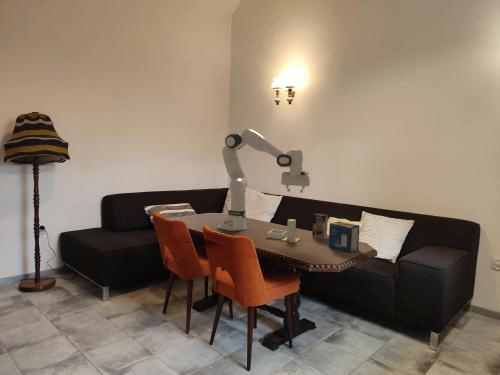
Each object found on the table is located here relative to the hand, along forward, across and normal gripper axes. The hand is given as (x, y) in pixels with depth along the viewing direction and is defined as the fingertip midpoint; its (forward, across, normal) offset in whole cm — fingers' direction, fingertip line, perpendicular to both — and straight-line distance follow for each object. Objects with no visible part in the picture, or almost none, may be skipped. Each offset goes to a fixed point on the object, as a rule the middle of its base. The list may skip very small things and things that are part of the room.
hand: (295, 192), depth 257 cm
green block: (+30, +3, -15) cm, 34 cm away
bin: (+31, -9, -10) cm, 34 cm away
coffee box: (+31, +18, +4) cm, 36 cm away
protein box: (+32, +38, -19) cm, 53 cm away
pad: (+31, +3, -15) cm, 35 cm away
